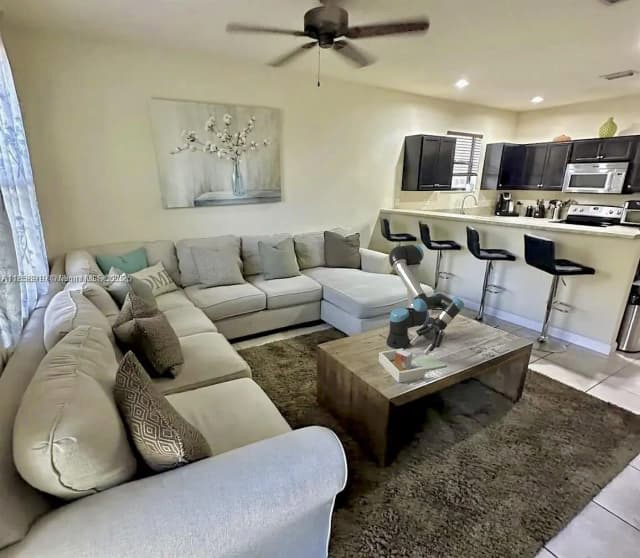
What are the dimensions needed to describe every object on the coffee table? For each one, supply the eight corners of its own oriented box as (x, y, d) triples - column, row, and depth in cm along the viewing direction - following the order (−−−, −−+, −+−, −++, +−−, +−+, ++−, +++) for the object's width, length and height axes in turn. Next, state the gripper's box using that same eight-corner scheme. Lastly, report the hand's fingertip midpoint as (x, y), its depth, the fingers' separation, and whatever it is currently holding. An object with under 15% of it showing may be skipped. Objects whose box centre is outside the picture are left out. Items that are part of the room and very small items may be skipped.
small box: (393, 368, 206) (394, 351, 203) (399, 364, 209) (400, 348, 206) (405, 373, 200) (406, 356, 197) (411, 369, 204) (412, 353, 201)
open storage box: (378, 361, 213) (379, 352, 212) (402, 357, 218) (402, 348, 216) (398, 382, 191) (399, 373, 189) (424, 377, 195) (425, 368, 194)
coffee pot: (416, 334, 249) (417, 314, 245) (430, 331, 253) (431, 311, 248) (435, 347, 230) (437, 325, 225) (450, 344, 233) (452, 323, 229)
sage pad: (413, 360, 213) (413, 359, 213) (434, 357, 217) (434, 355, 217) (425, 370, 202) (425, 369, 202) (446, 366, 206) (446, 365, 206)
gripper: (460, 333, 192) (435, 362, 192) (433, 316, 215) (410, 343, 215) (452, 325, 189) (427, 355, 189) (426, 309, 212) (403, 336, 212)
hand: (418, 349), depth 202 cm, fingers open, 13 cm apart
